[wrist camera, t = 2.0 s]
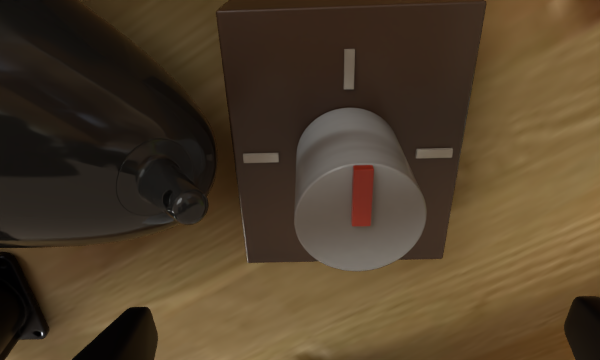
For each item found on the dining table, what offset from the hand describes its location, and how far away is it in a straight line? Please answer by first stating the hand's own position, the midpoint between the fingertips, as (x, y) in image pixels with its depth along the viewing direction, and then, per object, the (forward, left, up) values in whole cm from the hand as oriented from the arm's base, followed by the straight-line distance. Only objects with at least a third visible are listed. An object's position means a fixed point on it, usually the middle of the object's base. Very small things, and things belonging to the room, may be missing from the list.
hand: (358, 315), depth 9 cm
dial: (-1, -1, -9) cm, 9 cm away
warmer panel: (-1, -1, -12) cm, 12 cm away
